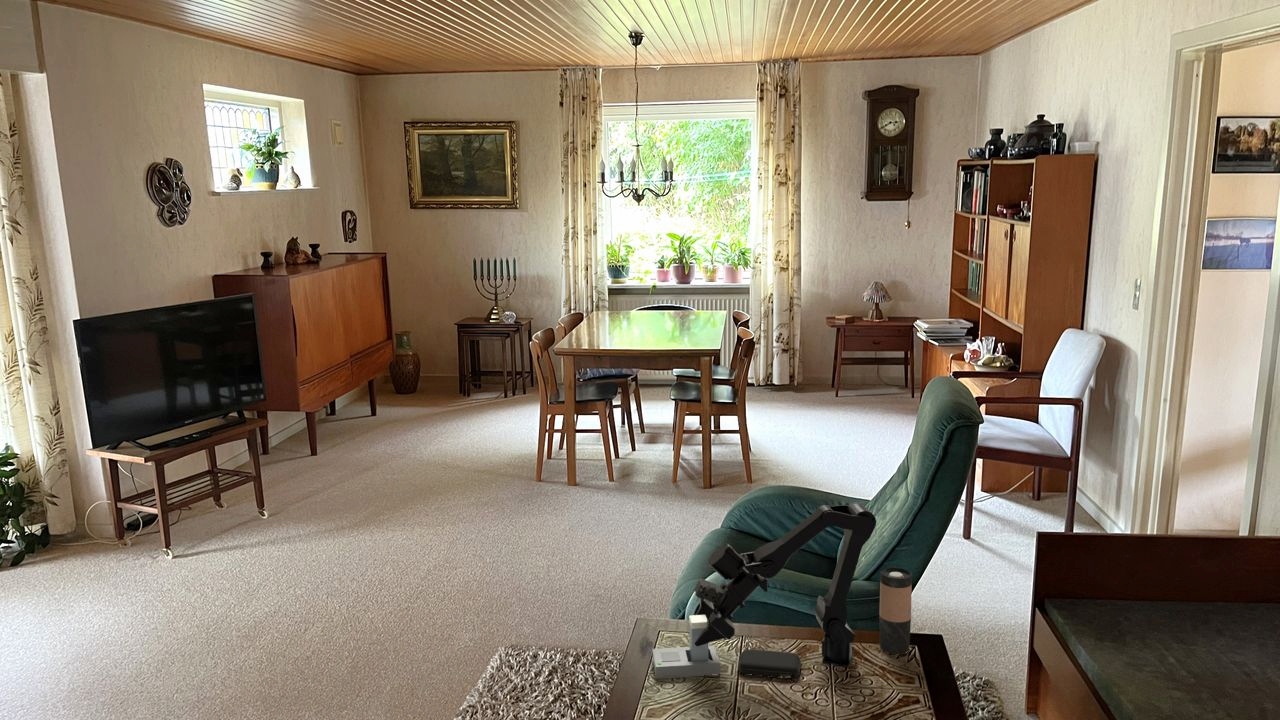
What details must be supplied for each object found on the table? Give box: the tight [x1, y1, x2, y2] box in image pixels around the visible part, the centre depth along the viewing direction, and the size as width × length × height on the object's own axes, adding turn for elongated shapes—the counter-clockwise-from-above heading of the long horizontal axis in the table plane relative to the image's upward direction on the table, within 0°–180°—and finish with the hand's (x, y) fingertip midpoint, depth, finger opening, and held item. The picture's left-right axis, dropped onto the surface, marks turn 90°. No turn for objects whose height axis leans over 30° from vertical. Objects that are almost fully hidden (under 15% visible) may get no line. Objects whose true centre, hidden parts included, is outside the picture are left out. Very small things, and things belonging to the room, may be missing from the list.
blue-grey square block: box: [688, 614, 709, 662], centre depth 214 cm, size 4×4×12 cm
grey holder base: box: [652, 645, 721, 680], centre depth 214 cm, size 16×9×3 cm, turn 94°
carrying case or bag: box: [737, 648, 802, 680], centre depth 213 cm, size 11×3×15 cm
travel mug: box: [878, 566, 913, 655], centre depth 221 cm, size 8×8×20 cm
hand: (693, 636), depth 213 cm, fingers open, 9 cm apart
